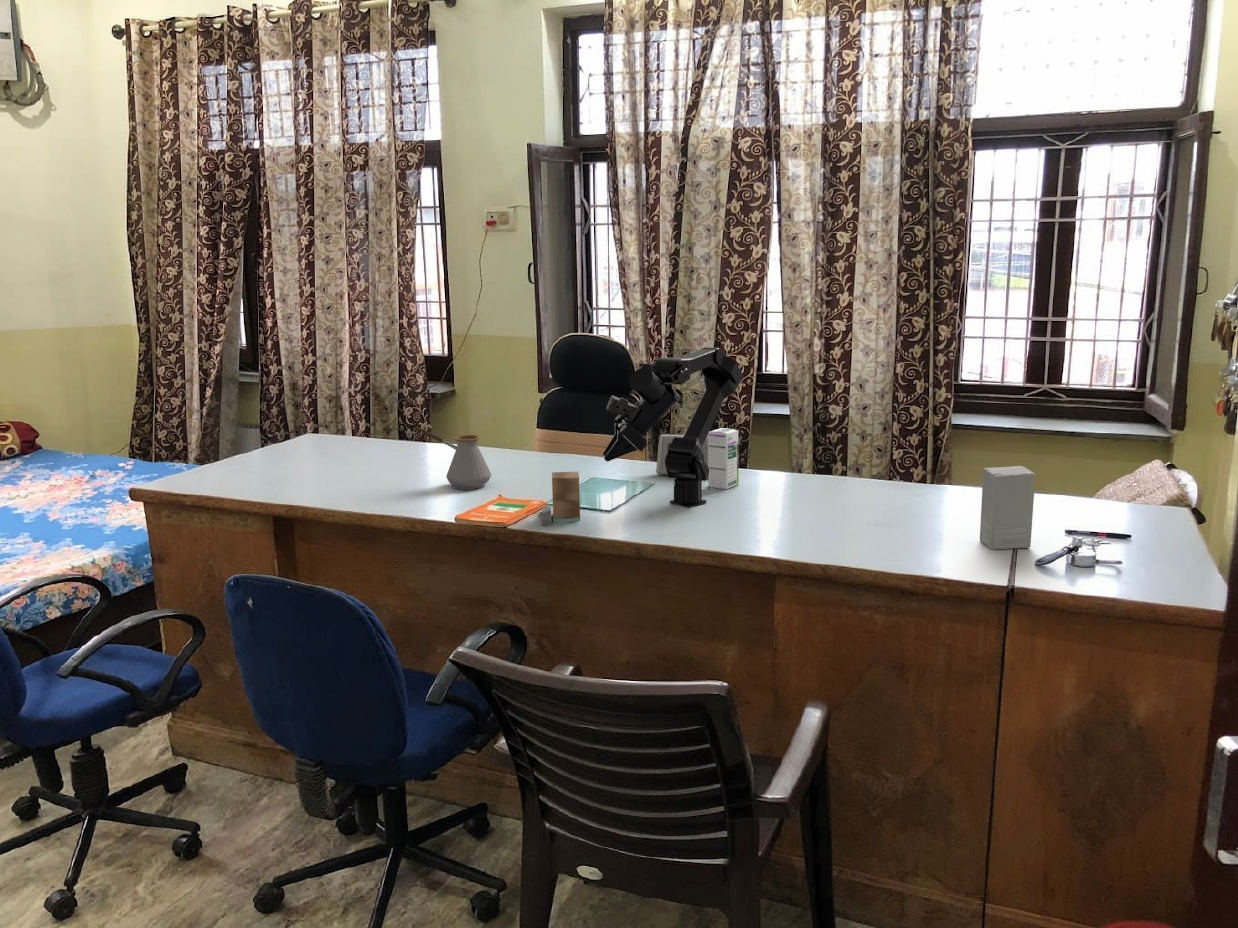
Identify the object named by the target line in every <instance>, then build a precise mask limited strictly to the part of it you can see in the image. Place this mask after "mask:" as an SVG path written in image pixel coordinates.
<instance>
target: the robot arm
mask: <svg viewBox="0 0 1238 928" xmlns="http://www.w3.org/2000/svg"><path fill="white" fill-rule="evenodd" d="M699 371H700V372H701V374H702V375H703V377H704V378H703V382H704V386H705V390H704V392H703V395H702V397H701V399H700V402H699V404H698V406H697V408H696V410H695V412H694V414H693V417H692V418H691V421H690V423H689V425H688V427H687V429H686V432H685V433H684V434H683V435H684V437H682V438H678V437H675V438H674V439H673V440H672V443H671V445H670V447H669V449H668V450H667V451H668V453H667V455H666V457H665V465H666V470H667V474H668V475H667V478H668V479H671V478H673V480H674V481H673V482H674V484H673V499H671V500H669V503H670V504H672V505H676V506H681V507H686V508H693V507H696V506H699V505H702V504H706V503H707V502H708V501H707V500H706V499H702V498H703V496H702V495H703V492H702V491H703V489H702V488H703V486H702V483H703V481H704V482H705V481H707V479H708V476H709V468H708V466H707V465H706V463H705V462H704V458H705V456H704V451H703V444H704V442H705V440H706V437H707V436H708V433H709V431H710V430H711V428H712V426H713V424H714V421H715V420H716V418H717V415H718V413H719V412H720V409H721V407H722V405H723V402H724V400H725V399H727V398H728V397H729V396H732V395H733V393H735V392H736V390H737V389H738V387H739V386H740V384H741V382H742V380H743V379H742V378H743V372H742V370H741V368H740V367H739V365H738V363H737V362H736V361H735V360H734V359H732V358H731V357H729V356H728V355H727V354H725V353H724V351H723V349H722V348H721V349H720V348H719V347H706V346H705V347H703V348H700V349H699V350H696V351H693V352H690V353H688V354H685V355H682V356H680V357H659V358H657V359H656V360H655V362H654V364H653V365H652V364H651V363H642V364H641V367H639V368H637V369H636V370H635V371H634V372H633V373H632V375H630V377H629V379H628V385H629V387H630V389H632V391H633V392H635V394H637V395H638V396H639V397H640V398H642V401H640V400H639V401H637V402H636V403H635V404H633V403H631V402H629V400H628V399H625V398H624V397H618V396H615V395H611V396H610V398H609V400H608V403H607V405H606V407H605V409H606V411H607V412H609V413H612V414H616V415H617V416H616V417H615V418H614V420H615V421H616V422H617V423H616V422H614V434H613V436H612V437H611V439H610V440H609V442H608V444H607V446H606V447H605V449H604V451H603V452H602V456H604V458H603V460H605V461H606V462H607V463H608V462H610V461H613V460H616V459H618V458H620V457H622V456H625V455H628V454H630V453H633V452H634V451H636V452H637V451H638V450H639V451H640V452H642V451H643V450H644V449H645V448H646V447H648V439H647V438H646V437H647V436H648V434H647V433H648V432H649V431H650V430H651V429H652V428H654V426H655V425H657V426H658V425H659V424H660V423H661V421H660V420H661V419H662V418H663V417H664V416H665V415H666V414H667V413H668V412H669V411H670V410H671V408H673V407H674V406H675V405H676V403H677V404H678V405H679V406H682V405H683V403H684V399H683V397H684V392H682V391H681V389H678V388H677V389H674V388H673V387H672V386H671V385H678V386H680V385H681V386H682V385H684V384H685V383H687V382H688V381H689V380H690V379H691V375H692V374H694V373H697V372H699Z"/></svg>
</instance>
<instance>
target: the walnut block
mask: <svg viewBox="0 0 1238 928" xmlns="http://www.w3.org/2000/svg"><path fill="white" fill-rule="evenodd" d="M579 475H580V474H579V471H558V472H557V471H556V472H554V471H553V472H551V489H552V491H551V492H552V519H553V521H552V522H555V523H557V522H559V523H560V522H580V521H581V507H580V506H581V503H580V502H581V501H580V500H581V499H580V476H579Z"/></svg>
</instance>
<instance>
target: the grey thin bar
mask: <svg viewBox="0 0 1238 928" xmlns="http://www.w3.org/2000/svg"><path fill="white" fill-rule="evenodd" d="M541 509H542V510H541V523H542V524H541V525H542V526H545V527H546V526H552V506H551V505H549V506H548V505H546V506H541Z"/></svg>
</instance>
